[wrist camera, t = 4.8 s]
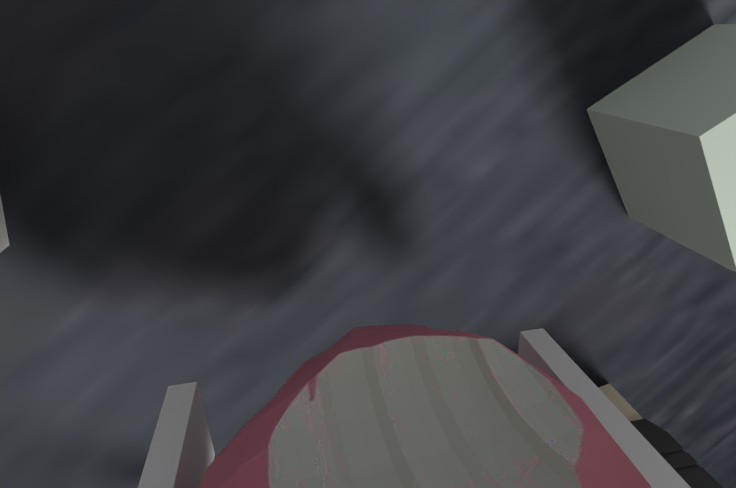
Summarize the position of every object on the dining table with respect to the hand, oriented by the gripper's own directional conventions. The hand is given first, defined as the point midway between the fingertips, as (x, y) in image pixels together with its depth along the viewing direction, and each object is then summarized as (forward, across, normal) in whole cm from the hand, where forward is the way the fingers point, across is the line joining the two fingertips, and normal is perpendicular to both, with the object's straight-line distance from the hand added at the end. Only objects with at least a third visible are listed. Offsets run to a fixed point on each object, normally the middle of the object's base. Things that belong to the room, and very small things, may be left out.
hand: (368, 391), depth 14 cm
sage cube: (+4, +12, +6) cm, 14 cm away
